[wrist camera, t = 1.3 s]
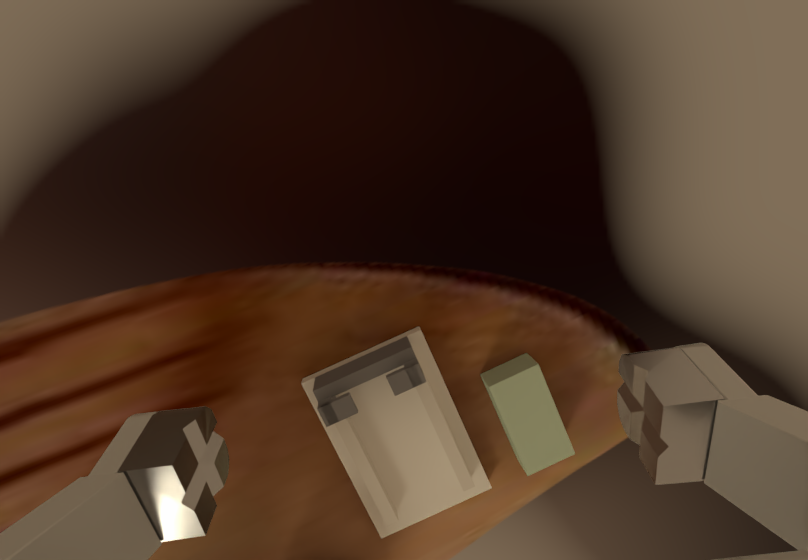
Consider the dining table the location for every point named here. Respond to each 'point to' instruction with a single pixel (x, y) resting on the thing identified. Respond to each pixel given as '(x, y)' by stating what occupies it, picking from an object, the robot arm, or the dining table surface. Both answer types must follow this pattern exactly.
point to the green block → (528, 413)
